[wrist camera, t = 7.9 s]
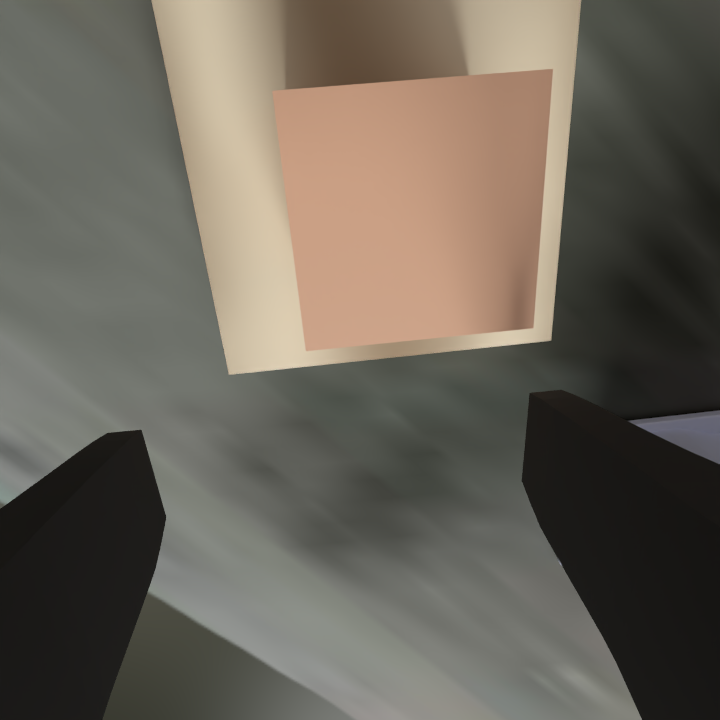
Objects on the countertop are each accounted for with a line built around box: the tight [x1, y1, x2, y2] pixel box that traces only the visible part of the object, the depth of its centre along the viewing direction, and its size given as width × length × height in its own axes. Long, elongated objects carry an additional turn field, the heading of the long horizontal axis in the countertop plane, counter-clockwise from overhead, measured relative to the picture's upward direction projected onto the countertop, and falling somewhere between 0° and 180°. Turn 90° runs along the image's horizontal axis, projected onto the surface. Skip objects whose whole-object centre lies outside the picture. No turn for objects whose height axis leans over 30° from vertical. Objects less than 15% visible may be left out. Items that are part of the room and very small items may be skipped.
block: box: [272, 69, 553, 351], centre depth 12 cm, size 5×5×5 cm
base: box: [152, 0, 581, 375], centre depth 16 cm, size 10×10×4 cm
